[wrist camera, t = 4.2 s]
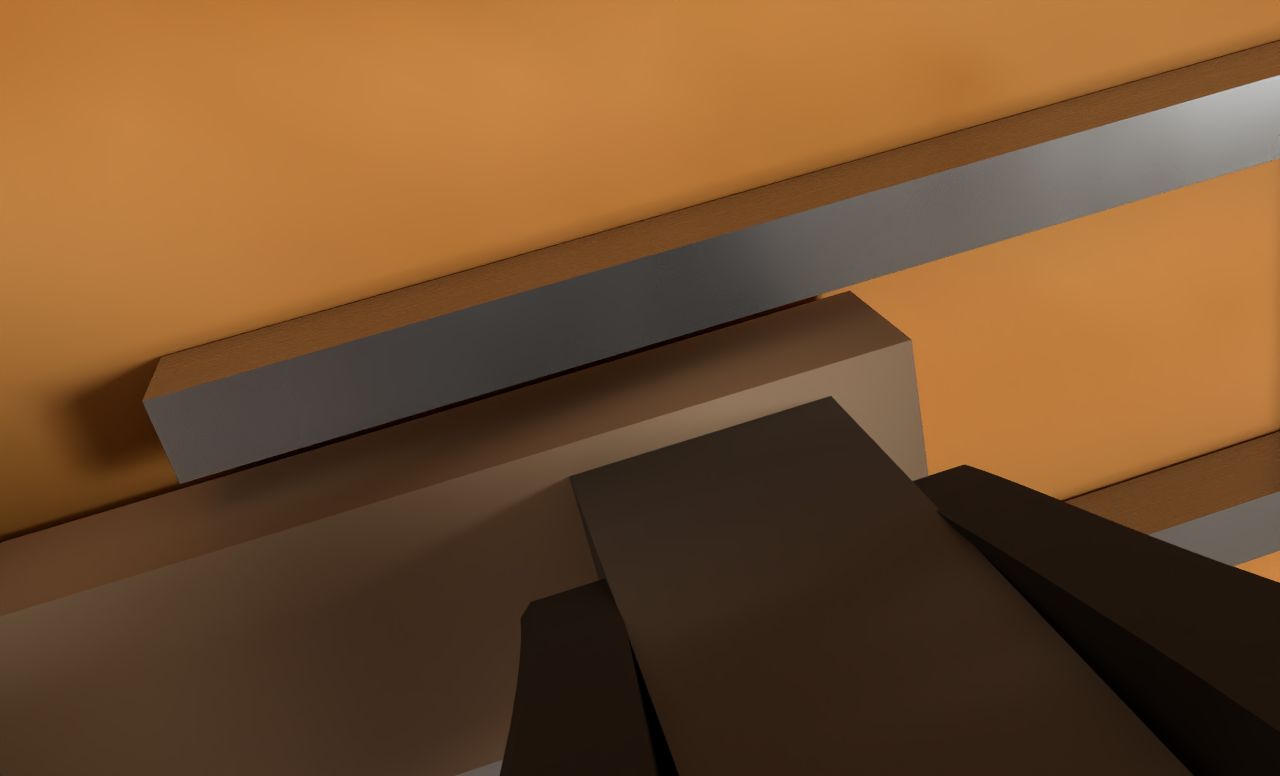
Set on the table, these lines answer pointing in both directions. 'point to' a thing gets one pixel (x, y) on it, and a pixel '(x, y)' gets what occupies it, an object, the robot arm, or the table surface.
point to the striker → (564, 588)
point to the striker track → (757, 289)
